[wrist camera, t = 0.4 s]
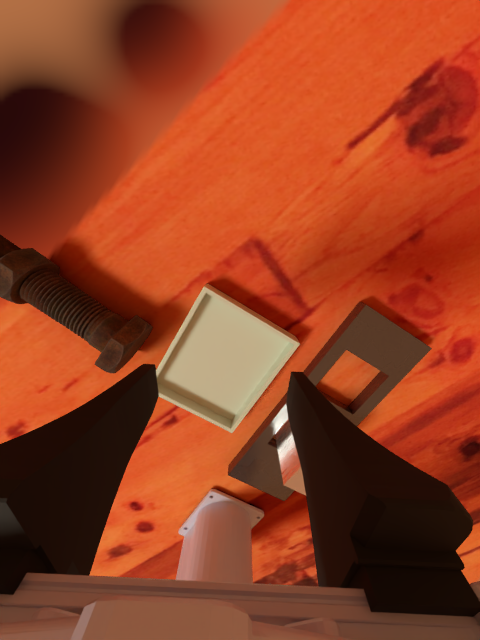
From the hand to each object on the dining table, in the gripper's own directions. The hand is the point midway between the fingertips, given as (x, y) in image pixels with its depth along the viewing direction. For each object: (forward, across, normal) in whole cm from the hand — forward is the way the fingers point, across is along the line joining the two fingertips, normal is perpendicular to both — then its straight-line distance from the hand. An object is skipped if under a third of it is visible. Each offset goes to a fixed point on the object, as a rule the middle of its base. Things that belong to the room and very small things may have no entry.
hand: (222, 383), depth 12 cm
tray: (+10, +1, +5) cm, 11 cm away
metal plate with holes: (+9, -10, +11) cm, 17 cm away
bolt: (+11, +15, -1) cm, 18 cm away
